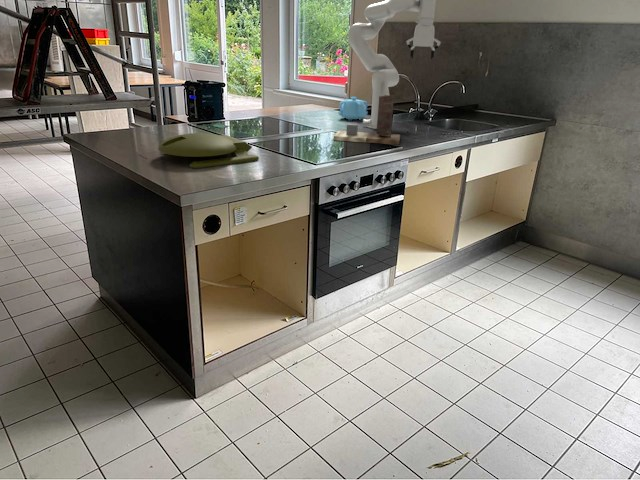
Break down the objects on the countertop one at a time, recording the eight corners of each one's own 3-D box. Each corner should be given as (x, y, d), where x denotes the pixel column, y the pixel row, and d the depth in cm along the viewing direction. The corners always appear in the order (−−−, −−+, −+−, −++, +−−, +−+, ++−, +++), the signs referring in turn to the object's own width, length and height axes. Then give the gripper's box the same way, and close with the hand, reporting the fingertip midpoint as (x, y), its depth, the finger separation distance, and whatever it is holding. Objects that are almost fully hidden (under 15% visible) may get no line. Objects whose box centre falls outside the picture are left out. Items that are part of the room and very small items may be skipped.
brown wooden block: (381, 138, 237) (384, 95, 230) (372, 135, 243) (376, 94, 236) (393, 137, 241) (397, 95, 233) (385, 134, 247) (389, 93, 239)
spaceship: (226, 147, 217) (225, 125, 213) (261, 161, 195) (261, 137, 191) (148, 156, 197) (145, 131, 194) (177, 173, 175) (175, 145, 171)
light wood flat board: (333, 140, 239) (333, 136, 238) (338, 134, 254) (338, 130, 253) (398, 144, 234) (399, 140, 234) (399, 138, 249) (400, 134, 248)
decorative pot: (344, 122, 293) (345, 98, 288) (332, 117, 309) (333, 95, 304) (373, 121, 300) (375, 98, 294) (360, 116, 316) (361, 95, 311)
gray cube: (346, 134, 243) (346, 124, 241) (347, 133, 247) (348, 123, 245) (356, 135, 242) (356, 125, 240) (357, 133, 246) (357, 123, 244)
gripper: (408, 21, 241) (404, 58, 247) (443, 22, 238) (439, 59, 245) (408, 22, 248) (404, 57, 254) (442, 23, 245) (438, 59, 251)
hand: (421, 58), depth 249 cm, fingers open, 9 cm apart
